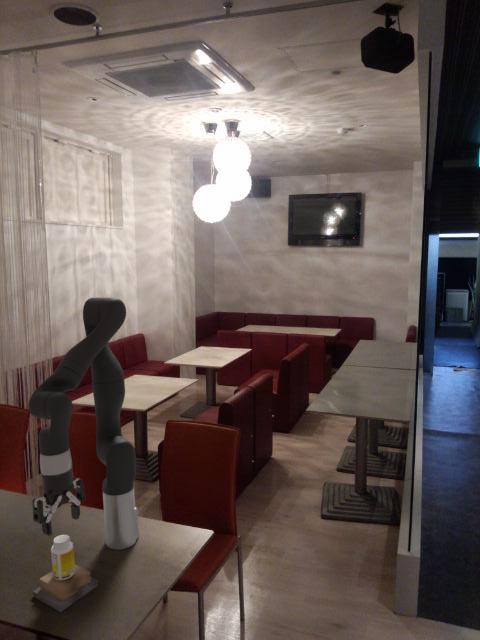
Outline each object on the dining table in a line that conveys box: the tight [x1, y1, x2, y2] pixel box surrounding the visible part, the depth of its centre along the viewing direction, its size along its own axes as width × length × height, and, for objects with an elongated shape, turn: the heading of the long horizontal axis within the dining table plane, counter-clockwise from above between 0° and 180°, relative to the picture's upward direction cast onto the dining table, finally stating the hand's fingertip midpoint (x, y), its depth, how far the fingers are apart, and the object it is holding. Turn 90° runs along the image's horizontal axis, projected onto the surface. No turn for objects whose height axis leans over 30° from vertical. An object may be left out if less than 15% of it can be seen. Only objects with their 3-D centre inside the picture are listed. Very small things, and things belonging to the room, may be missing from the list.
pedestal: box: [32, 564, 99, 613], centre depth 134 cm, size 12×11×4 cm
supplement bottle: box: [50, 534, 76, 580], centre depth 134 cm, size 6×6×10 cm
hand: (62, 526), depth 132 cm, fingers open, 8 cm apart
